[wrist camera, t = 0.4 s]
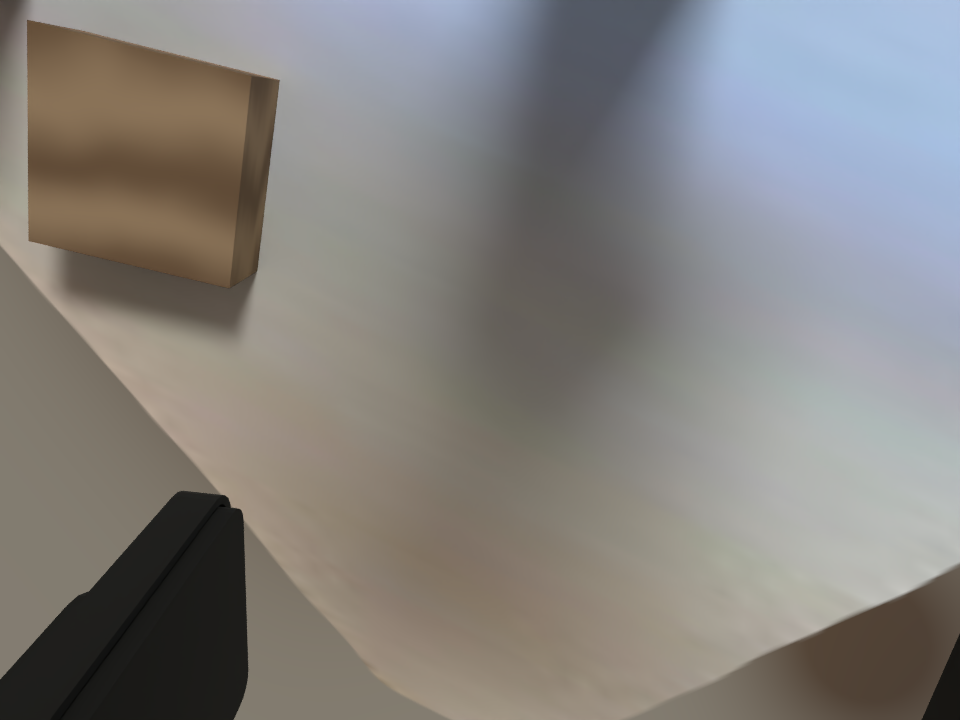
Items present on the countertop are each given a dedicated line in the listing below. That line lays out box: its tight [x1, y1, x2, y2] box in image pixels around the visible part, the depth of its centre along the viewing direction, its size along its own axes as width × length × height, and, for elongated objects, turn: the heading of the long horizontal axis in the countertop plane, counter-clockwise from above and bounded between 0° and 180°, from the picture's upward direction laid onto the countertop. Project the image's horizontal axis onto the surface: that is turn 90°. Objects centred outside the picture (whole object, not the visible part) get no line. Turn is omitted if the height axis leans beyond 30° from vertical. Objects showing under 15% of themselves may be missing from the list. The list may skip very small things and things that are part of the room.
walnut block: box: [27, 20, 280, 288], centre depth 40 cm, size 12×12×5 cm
